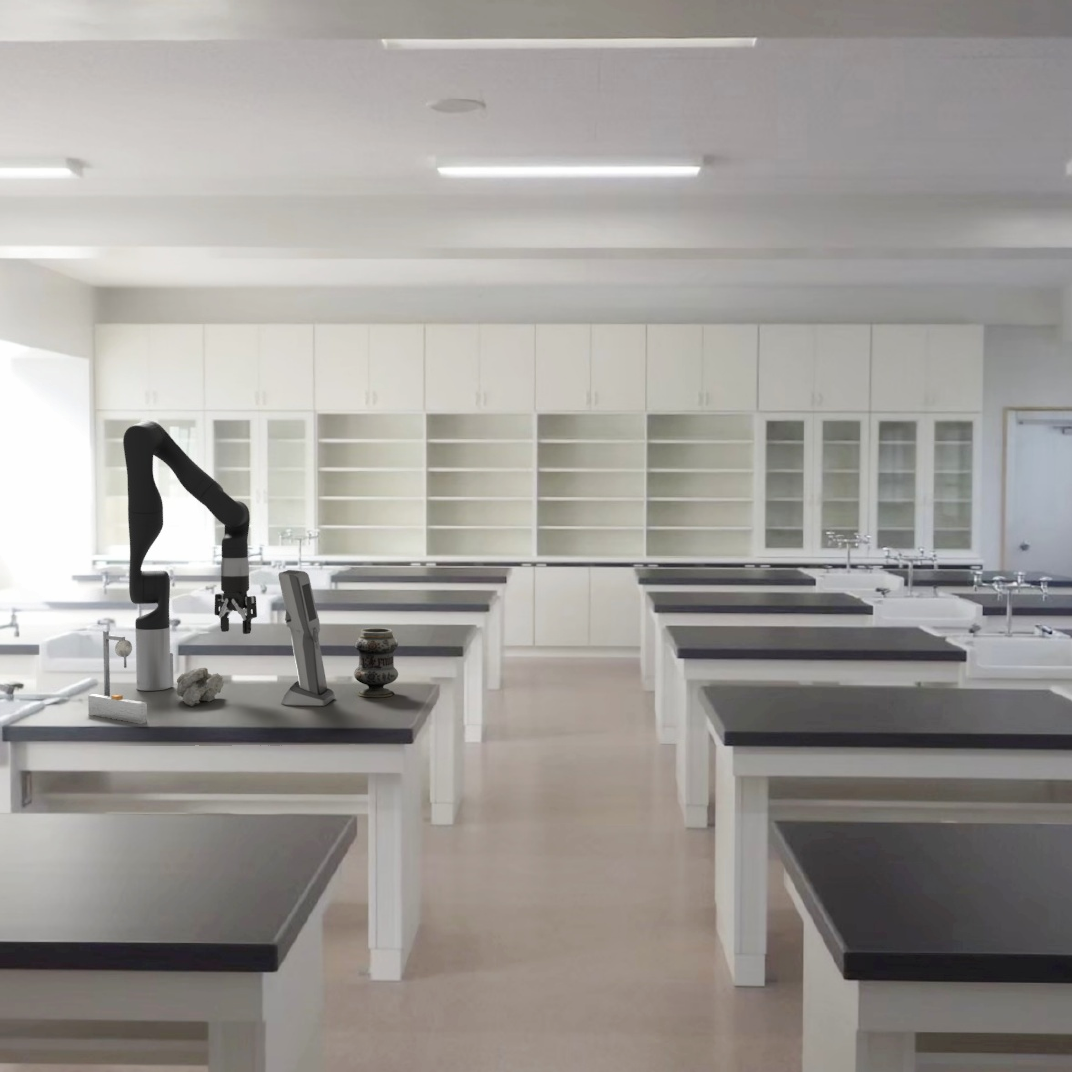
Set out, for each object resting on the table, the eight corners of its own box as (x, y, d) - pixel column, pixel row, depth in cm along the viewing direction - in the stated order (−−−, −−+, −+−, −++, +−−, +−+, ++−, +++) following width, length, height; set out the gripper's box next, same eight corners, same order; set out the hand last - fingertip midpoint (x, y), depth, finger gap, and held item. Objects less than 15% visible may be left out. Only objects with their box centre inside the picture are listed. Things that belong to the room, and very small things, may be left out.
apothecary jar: (395, 698, 342) (394, 632, 341) (350, 698, 343) (350, 632, 342) (400, 690, 355) (400, 626, 353) (358, 690, 355) (357, 626, 354)
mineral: (237, 687, 346) (219, 655, 346) (218, 696, 329) (200, 662, 329) (198, 708, 347) (180, 676, 347) (177, 718, 330) (159, 684, 330)
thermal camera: (290, 697, 344) (288, 569, 342) (336, 698, 343) (335, 569, 341) (277, 705, 333) (275, 573, 331) (325, 706, 332) (323, 573, 329)
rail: (94, 713, 323) (94, 690, 322) (147, 722, 312) (146, 699, 311) (88, 714, 321) (88, 692, 321) (140, 724, 310) (140, 700, 310)
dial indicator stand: (109, 701, 338) (107, 628, 337) (136, 705, 332) (134, 632, 331) (90, 704, 333) (88, 631, 332) (117, 709, 327) (115, 634, 326)
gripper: (263, 574, 347) (264, 633, 347) (227, 571, 355) (228, 629, 355) (242, 576, 340) (243, 636, 341) (206, 573, 348) (207, 632, 349)
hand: (235, 632), depth 348 cm, fingers open, 8 cm apart
